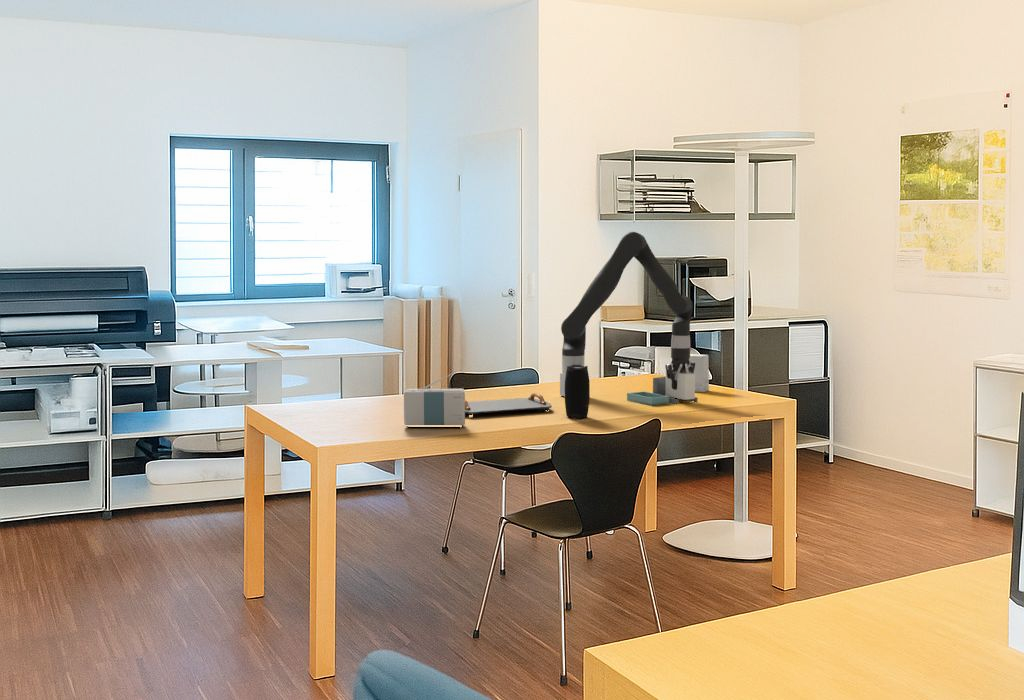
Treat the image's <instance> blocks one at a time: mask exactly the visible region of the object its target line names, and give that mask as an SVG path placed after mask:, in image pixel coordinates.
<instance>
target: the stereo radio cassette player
mask: <svg viewBox="0 0 1024 700" xmlns="http://www.w3.org/2000/svg"><path fill="white" fill-rule="evenodd" d="M460 371H461V369H458V370H457V371H454V372H452V373H450V374H448V375H446V376H443V377H442V378H440V379H438V380H436V381H433V382H432V383H430V384H427V385H426V386H423V387H422V388H406V389H405V390H404V392H403V420H404V421H403V425H404V424H405V425H464V426H465V425H466V413H465V400H466V395H465V394H466V393H465V389H464V388H429V387H431V386H432V385H435V384H437V383H439V382H441V381H443V380H445V379H446V378H449V377H450V376H452V375H454V374H456V373H457V372H460ZM405 425H404V426H405Z"/></svg>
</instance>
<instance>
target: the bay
mask: <svg viewBox="0 0 1024 700" xmlns="http://www.w3.org/2000/svg"><path fill="white" fill-rule="evenodd" d="M665 387H666V376H657V377H652V393H655V394H660V395H664V396H665ZM679 400H680V399H679V398H677V399H675V398H674V397H669V404H671V405H675V404H676V405H677V404H678V405H679V402H680V401H679ZM681 401H685V400H684V399H682V400H681ZM690 401H694V402H693V403H695V402H698V397H696V396H695V399H688V401H687V402H690Z"/></svg>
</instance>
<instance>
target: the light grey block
mask: <svg viewBox="0 0 1024 700" xmlns="http://www.w3.org/2000/svg"><path fill="white" fill-rule="evenodd" d="M675 372H676V371H675ZM665 377H666V387H665V396H669V397H674V398H673V399H675V398H679V399H678V400H680V399H684V400H683V401H685V400H688V399H695V397H696V395H695V393H696V392H695V374H694V373H686V370H681V372H680V373H678V375H677V390H674V389H672V380H671V379H669V378H667V373H666V372H665ZM674 377H675V374H674Z"/></svg>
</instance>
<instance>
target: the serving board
mask: <svg viewBox="0 0 1024 700" xmlns="http://www.w3.org/2000/svg"><path fill="white" fill-rule="evenodd" d="M535 397H536V398H537V399H536V398H535ZM550 408H552V404H551V403H550V402H548V401H546V400H545V399H544V396H543V395H541V394H540V393H538V392H535V393H534V392H533V393H531V394H530V396H528V397H521V398H507V399H492V400H491V399H490V400H489V399H487V400H479V401H478V400H477V401H475V400H474V401H473V400H472V401H467V399H465V414H468V415H472V414H473V415H475V414H482V413H483V414H485V413H497V412H498V413H499V412H501V413H502V412H511V411H525V410H538V409H544V410H547V411H548V410H550V411H551V409H550Z"/></svg>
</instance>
